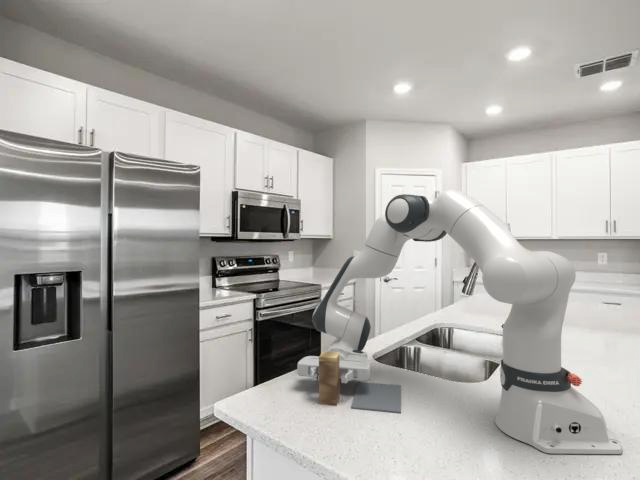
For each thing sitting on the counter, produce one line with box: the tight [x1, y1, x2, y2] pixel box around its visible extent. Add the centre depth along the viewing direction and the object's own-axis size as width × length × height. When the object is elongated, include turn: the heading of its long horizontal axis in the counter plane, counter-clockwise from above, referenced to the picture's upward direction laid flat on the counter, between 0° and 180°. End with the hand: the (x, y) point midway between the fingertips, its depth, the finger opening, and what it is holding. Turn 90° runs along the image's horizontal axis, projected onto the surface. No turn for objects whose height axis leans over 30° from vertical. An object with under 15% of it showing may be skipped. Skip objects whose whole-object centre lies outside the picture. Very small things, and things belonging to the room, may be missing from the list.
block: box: [318, 351, 341, 407], centre depth 93 cm, size 4×4×12 cm
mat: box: [350, 381, 402, 414], centre depth 95 cm, size 12×16×1 cm
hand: (328, 379), depth 92 cm, fingers open, 6 cm apart
